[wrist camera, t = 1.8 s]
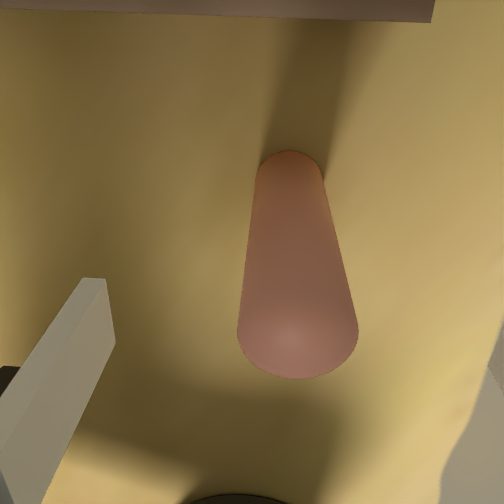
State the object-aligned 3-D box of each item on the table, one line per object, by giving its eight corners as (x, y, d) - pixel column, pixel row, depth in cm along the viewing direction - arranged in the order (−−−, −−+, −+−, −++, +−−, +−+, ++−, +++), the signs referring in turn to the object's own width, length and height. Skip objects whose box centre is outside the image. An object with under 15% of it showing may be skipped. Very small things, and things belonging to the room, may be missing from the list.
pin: (319, 215, 28) (349, 381, 16) (254, 212, 28) (236, 375, 16) (325, 152, 26) (367, 287, 14) (256, 149, 26) (237, 280, 14)
